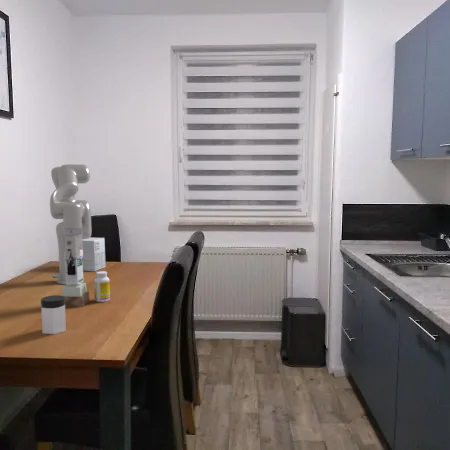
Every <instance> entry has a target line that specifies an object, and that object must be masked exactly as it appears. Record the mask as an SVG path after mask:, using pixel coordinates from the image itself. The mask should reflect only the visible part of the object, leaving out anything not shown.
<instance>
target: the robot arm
mask: <svg viewBox="0 0 450 450" xmlns="http://www.w3.org/2000/svg"><path fill="white" fill-rule="evenodd" d="M50 173H51V174H50V176H51V180H52V183H53V185H54V187H55V189H54V191H53V192H52V194H51V195H50V198H49V210H50V212H49V213H50V216H51V217H52V218H53V219H55V220H62V221H61V222H59V223H57V224H56V227H55V234H56V239H57V247H58V248H57V249H58V262H59V263H58V267H59V268H58V269H59V273H52V275H51V277H52V278H53V279H56V283H57V284H60V285H66V276H65V258H64V252H65V257H66V261H67V272H68V275H75V266H74V263H75V259H78V258H80V250H83V242H82V239H88V238H92V231H93V229H92V212H91V204H90V203H89V201H88V200H83V199H80V200H79V199H77V200H76V194H78V192H79V184H81V185H82V184H86V183H88V182H89V181H90V177H91V172H90V169H89V167H88V165H85V164H77V163H75V164H62V165H61V166H55V167H53V168H52V169H51V171H50ZM70 257H73V258H70ZM74 258H75V259H74ZM71 260H73V262H72V261H71Z"/></svg>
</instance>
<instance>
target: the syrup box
mask: <svg viewBox="0 0 450 450" xmlns="http://www.w3.org/2000/svg"><path fill="white" fill-rule="evenodd" d="M64 258H65V276H66V284H77V285H78V284H79V283H85V271H84V267H83V250H80V258H78V259H75V258H74V259H75V263H74V266H75V275H68V272H67V261H66V257H65V252H64ZM70 258H73V257H70ZM71 261H72V262H73V260H71ZM66 284H65V285H66Z"/></svg>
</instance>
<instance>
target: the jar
mask: <svg viewBox="0 0 450 450" xmlns="http://www.w3.org/2000/svg"><path fill="white" fill-rule="evenodd" d="M40 306H41V309H40V310H41V325H42V326H41V327H42V328H41V329H42V330H41V331H42V334H45V335H57V334H60V333H64V332H66V330H67V329H66V327H67V326H66V307H65V297H64V296H62V295H58V294H57V295H56V294H55V295H54V294H53V295H48V296H44V297H42V298H41V299H40Z"/></svg>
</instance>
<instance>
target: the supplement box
mask: <svg viewBox="0 0 450 450" xmlns="http://www.w3.org/2000/svg"><path fill="white" fill-rule="evenodd" d="M105 241H106V239H105V237H90V238H88V239H82V242H83V267H84V272H98V271H100V270H102V269H104V268H106V246H105V244H106V243H105Z"/></svg>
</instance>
